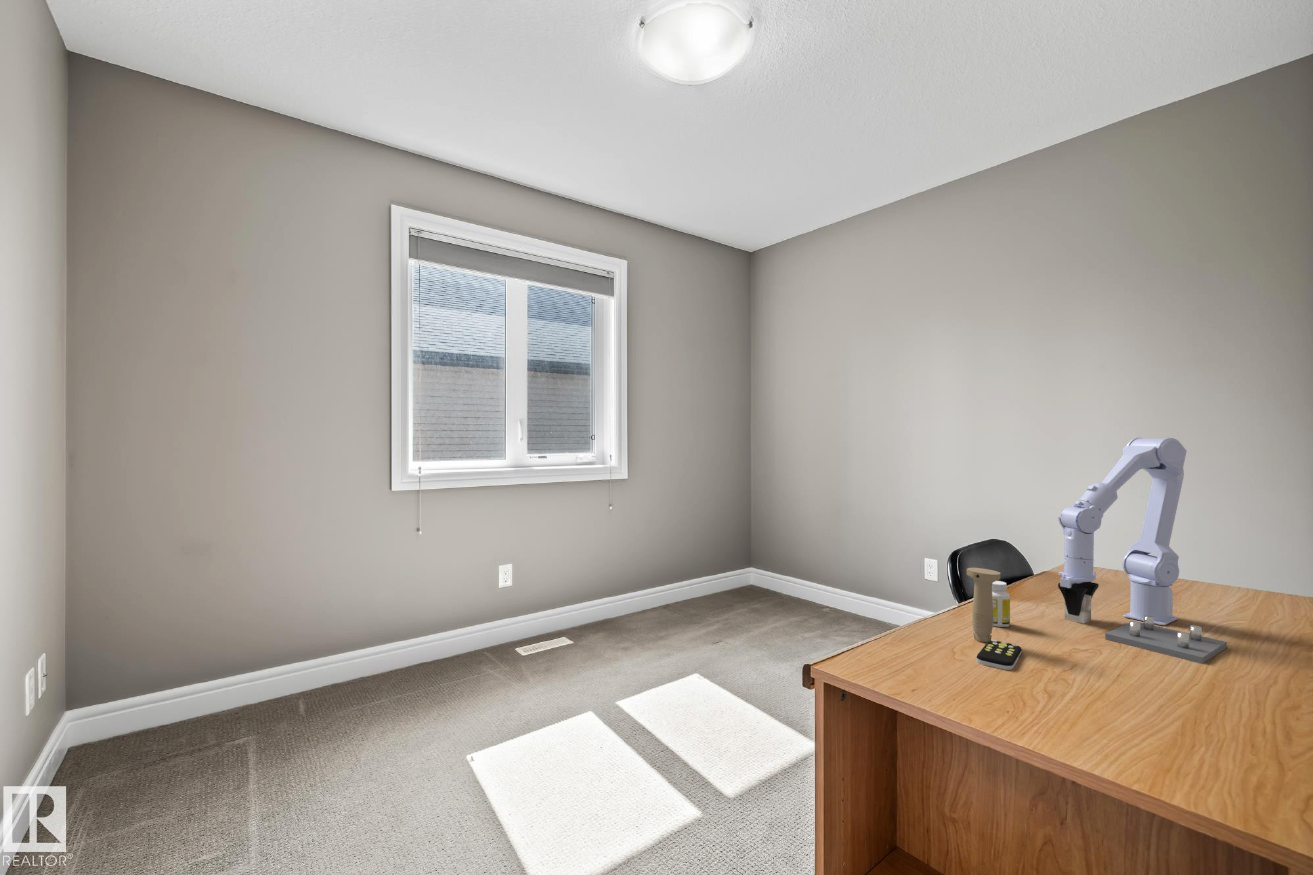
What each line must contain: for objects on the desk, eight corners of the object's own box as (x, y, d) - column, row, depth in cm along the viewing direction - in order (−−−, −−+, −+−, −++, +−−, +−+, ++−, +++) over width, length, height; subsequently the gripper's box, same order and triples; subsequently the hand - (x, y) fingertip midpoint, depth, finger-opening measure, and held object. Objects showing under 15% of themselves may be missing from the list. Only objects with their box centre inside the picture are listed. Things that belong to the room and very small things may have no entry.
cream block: (1071, 616, 143) (1072, 592, 143) (1091, 620, 140) (1091, 595, 140) (1064, 619, 141) (1065, 594, 141) (1083, 623, 138) (1084, 598, 138)
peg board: (1133, 626, 136) (1133, 609, 136) (1226, 647, 123) (1227, 628, 123) (1105, 638, 128) (1105, 620, 128) (1202, 663, 114) (1202, 643, 114)
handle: (973, 633, 130) (973, 566, 130) (1003, 642, 125) (1004, 572, 125) (961, 637, 127) (962, 569, 127) (992, 646, 122) (993, 575, 122)
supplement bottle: (1006, 621, 139) (1007, 580, 139) (1012, 628, 134) (1013, 586, 134) (981, 619, 141) (981, 578, 140) (985, 626, 135) (986, 584, 135)
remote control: (974, 665, 114) (974, 654, 114) (988, 646, 123) (988, 637, 123) (1011, 673, 110) (1011, 663, 110) (1022, 654, 119) (1023, 644, 119)
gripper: (1073, 550, 148) (1072, 604, 148) (1046, 557, 140) (1045, 613, 140) (1106, 556, 142) (1105, 611, 142) (1080, 562, 134) (1079, 621, 134)
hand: (1077, 613), depth 141 cm, fingers closed on cream block, 4 cm apart
